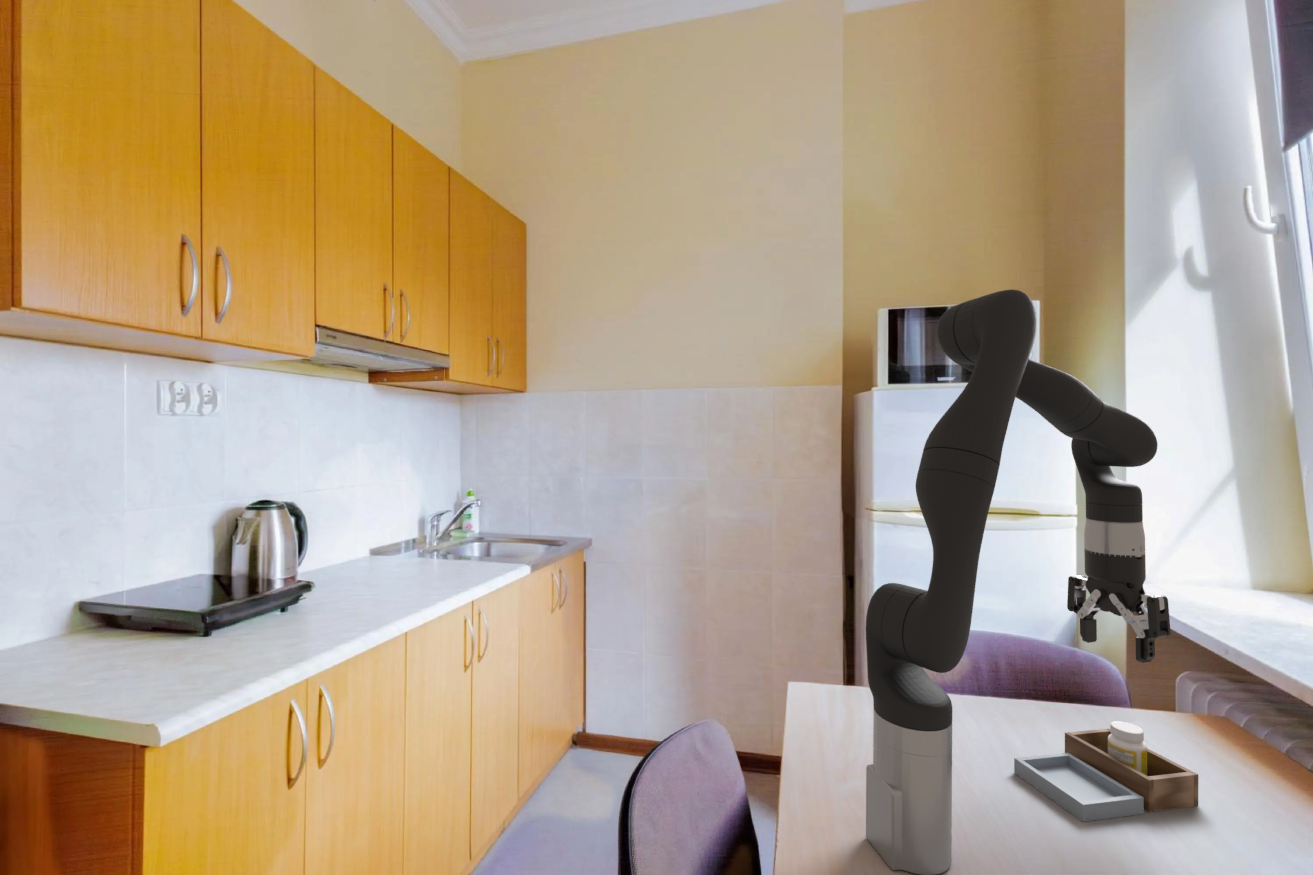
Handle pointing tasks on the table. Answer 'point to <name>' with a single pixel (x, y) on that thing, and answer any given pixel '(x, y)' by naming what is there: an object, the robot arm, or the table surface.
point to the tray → (1078, 786)
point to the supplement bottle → (1128, 745)
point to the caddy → (1137, 772)
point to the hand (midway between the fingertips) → (1115, 651)
